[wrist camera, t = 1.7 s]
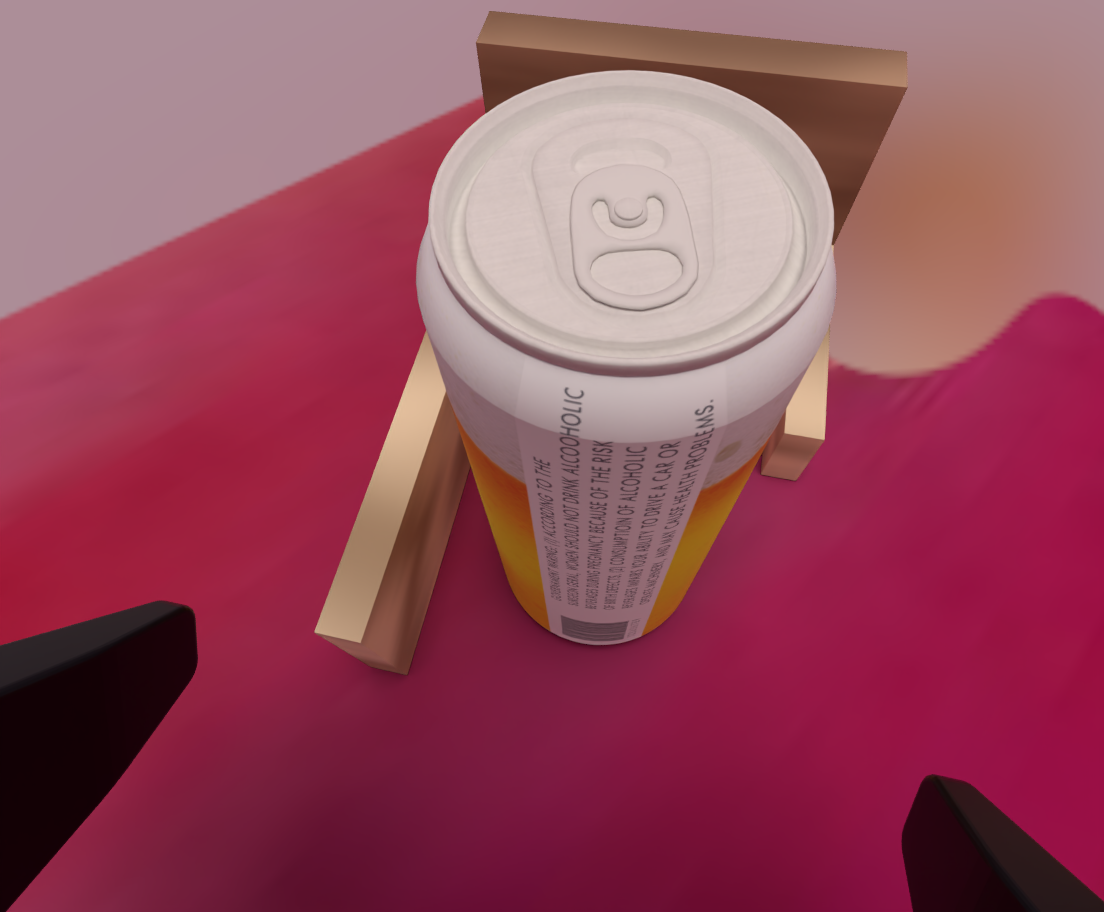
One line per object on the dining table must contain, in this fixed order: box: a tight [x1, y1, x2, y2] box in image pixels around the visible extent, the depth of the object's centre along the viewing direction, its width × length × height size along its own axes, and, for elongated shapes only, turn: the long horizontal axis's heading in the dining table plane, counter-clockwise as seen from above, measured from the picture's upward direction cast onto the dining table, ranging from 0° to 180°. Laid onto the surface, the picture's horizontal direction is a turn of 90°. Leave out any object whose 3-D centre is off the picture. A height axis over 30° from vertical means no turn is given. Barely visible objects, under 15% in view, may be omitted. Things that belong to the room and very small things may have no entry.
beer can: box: [416, 70, 836, 645], centre depth 16 cm, size 6×6×15 cm
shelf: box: [314, 11, 907, 675], centre depth 20 cm, size 19×12×9 cm, turn 168°
